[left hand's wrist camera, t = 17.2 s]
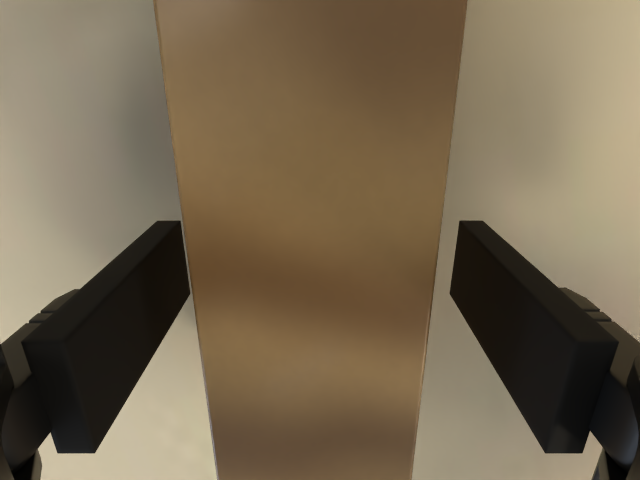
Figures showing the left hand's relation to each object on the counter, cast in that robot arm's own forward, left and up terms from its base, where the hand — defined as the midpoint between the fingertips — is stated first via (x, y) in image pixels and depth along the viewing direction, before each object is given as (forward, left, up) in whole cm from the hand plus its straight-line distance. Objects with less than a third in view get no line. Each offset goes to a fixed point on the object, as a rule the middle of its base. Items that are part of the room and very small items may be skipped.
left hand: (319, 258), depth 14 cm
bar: (+13, -14, -3) cm, 19 cm away
